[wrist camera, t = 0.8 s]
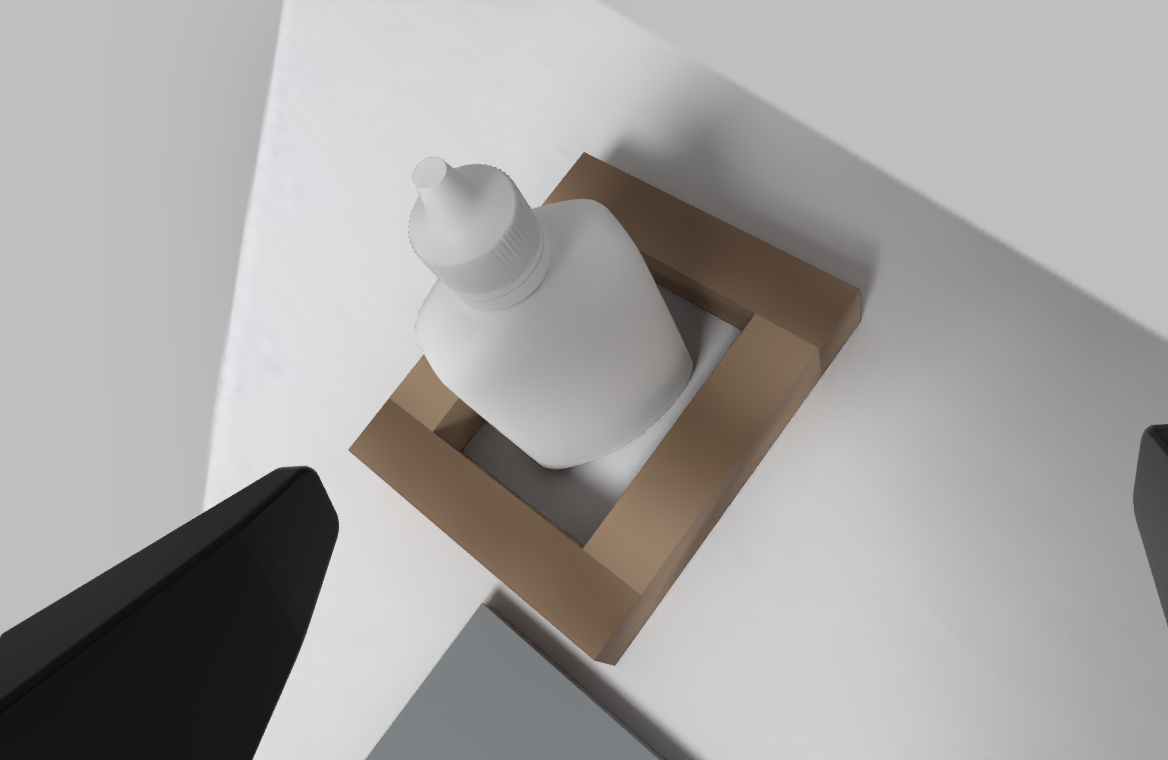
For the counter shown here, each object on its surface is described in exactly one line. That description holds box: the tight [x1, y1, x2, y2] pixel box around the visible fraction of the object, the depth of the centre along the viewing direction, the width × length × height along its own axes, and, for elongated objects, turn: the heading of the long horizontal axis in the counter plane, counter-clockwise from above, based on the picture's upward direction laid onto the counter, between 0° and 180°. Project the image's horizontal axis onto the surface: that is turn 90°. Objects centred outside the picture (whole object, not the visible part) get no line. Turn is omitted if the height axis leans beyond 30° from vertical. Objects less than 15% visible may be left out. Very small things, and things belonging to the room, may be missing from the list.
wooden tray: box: [349, 152, 861, 666], centre depth 25 cm, size 12×10×2 cm
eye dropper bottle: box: [408, 157, 693, 469], centre depth 21 cm, size 4×6×12 cm
